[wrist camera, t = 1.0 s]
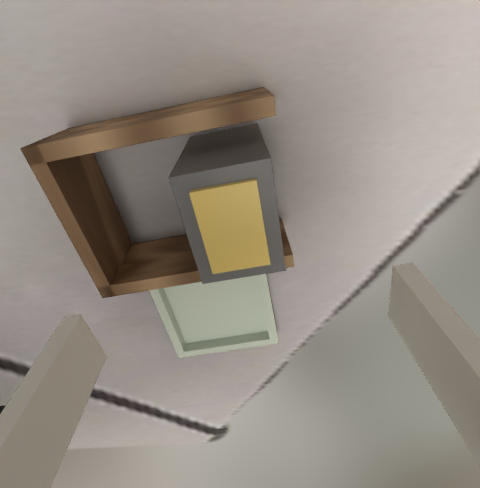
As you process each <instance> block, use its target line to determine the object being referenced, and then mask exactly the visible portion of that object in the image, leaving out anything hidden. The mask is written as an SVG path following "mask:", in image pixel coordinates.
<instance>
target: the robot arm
mask: <svg viewBox="0 0 480 488" xmlns="http://www.w3.org/2000/svg"><path fill="white" fill-rule="evenodd" d="M388 316H389V318H390V319H391V321H392V323H393V324H394V326H395V328H396V329H397V331H398V333H399V334H400V336H401V338H402V339H403V341H404V343H405V344H406V346H407V348H408V349H409V351H410V353H411V354H412V356H413V358H414V359H415V361H416V362H417V364H418V366H419V367H420V369H421V371H422V372H423V374H424V376H425V377H426V379H427V381H428V382H429V384H430V386H431V387H432V389H433V391H434V392H435V394H436V395H437V397H438V399H439V400H440V402H441V403H442V405H443V407H444V409H445V410H446V412H447V414H448V415H449V417H450V419H451V420H452V422H453V424H454V425H455V427H456V429H457V430H458V432H459V433H460V435H461V437H462V438H463V440H464V442H465V443H466V445H467V447H468V449H469V450H470V452H471V453H472V455H473V457H474V458H475V460H476V462H477V463H478V465H479V467H480V338H479V337H478V336H477V335H476V334H475V333H474V331H473V330H472V329H471V328H470V327H469V326H468V325H467V324H466V322H465V321H464V320H463V319H462V318H461V317H460V316H459V314H458V313H457V312H456V311H455V310H454V309H453V308H452V307H451V305H450V304H449V303H448V302H447V301H446V300H445V299H444V297H443V296H442V295H441V294H440V293H439V292H438V291H437V290H436V288H435V287H434V286H433V285H432V284H431V283H430V282H429V281H428V279H427V278H426V277H425V276H424V275H423V274H422V273H421V271H420V270H419V269H418V268H417V267H416V266H415V265H414V264H413V263H407V264H400V265H394V266H393V269H392V280H391V291H390V303H389V314H388ZM106 357H107V356H106V354H105V353H104V351H103V349H102V348H101V346H100V344H99V343H98V341H97V340H96V338H95V336H94V335H93V333H92V332H91V330H90V328H89V327H88V325H87V323H86V322H85V320H84V319H83V317H82V315H81V314H80V315H73V316H67V317H64V318H63V319H62V321H61V323H60V324H59V326H58V327H57V329H56V330H55V332H54V333H53V335H52V336H51V338H50V339H49V341H48V342H47V344H46V345H45V347H44V348H43V350H42V351H41V353H40V354H39V356H38V358H37V359H36V361H35V362H34V364H33V365H32V367H31V368H30V370H29V371H28V373H27V374H26V376H25V377H24V379H23V380H22V382H21V383H20V385H19V386H18V388H17V389H16V391H15V392H14V394H13V396H12V397H11V399H10V400H9V402H8V403H7V405H5V406H0V488H51V485H52V483H53V481H54V479H55V476H56V474H57V472H58V469H59V467H60V464H61V462H62V460H63V457H64V455H65V453H66V451H67V448H68V446H69V444H70V441H71V439H72V437H73V434H74V432H75V429H76V427H77V425H78V422H79V420H80V418H81V415H82V413H83V411H84V408H85V406H86V404H87V401H88V399H89V397H90V394H91V392H92V390H93V387H94V385H95V383H96V380H97V378H98V376H99V373H100V371H101V369H102V366H103V364H104V362H105V359H106Z"/></svg>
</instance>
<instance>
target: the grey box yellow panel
mask: <svg viewBox="0 0 480 488" xmlns="http://www.w3.org/2000/svg"><path fill="white" fill-rule="evenodd" d="M169 181H170V184H171V187H172V190H173V193H174V196H175V199H176V203H177V206H178V209H179V212H180V215H181V218H182V221H183V224H184V228H185V231H186V234H187V237H188V240H189V243H190V246H191V250H192V253H193V256H194V259H195V262H196V265H197V268H198V271H199V275H200V278H201V281H202V284H207V283H213V282H219V281H225V280H231V279H237V278H243V277H249V276H255V275H261V274H267V273H273V272H280V271H286V267H285V259H284V252H283V245H282V237H281V230H280V223H279V215H278V208H277V200H276V193H275V186H274V178H273V171H272V164H271V157H270V155H269V152H268V150H267V147H266V145H265V142H264V140H263V137H262V135H261V132H260V130H259V127H258V125H257V124H252V125H247V126H242V127H238V128H233V129H228V130H223V131H218V132H213V133H208V134H203V135H198V136H193V137H190V139H189V141H188V143H187V144H186V146H185V148H184V150H183V152H182V154H181V156H180V157H179V159H178V161H177V163H176V165H175V167H174V169H173V171H172V172H171V174H170V176H169Z"/></svg>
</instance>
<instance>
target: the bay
mask: <svg viewBox="0 0 480 488" xmlns="http://www.w3.org/2000/svg"><path fill="white" fill-rule="evenodd" d="M272 116H276V110H275V101H274V95H273V94H271V93H270V92H269V91H268V90H267V89H265V88H264V87H262V88H258V89H253V90H248V91H244V92H239V93H234V94H229V95H225V96H220V97H215V98H210V99H206V100H201V101H196V102H191V103H187V104H182V105H177V106H173V107H168V108H163V109H158V110H154V111H149V112H144V113H139V114H135V115H130V116H125V117H121V118H116V119H111V120H106V121H102V122H97V123H92V124H87V125H83V126H78V127H73V128H68V129H66V130H63V131H61V132H59V133H56V134H54V135H51V136H49V137H47V138H44V139H42V140H39V141H37V142H35V143H32V144H30V145H27V146H25V147H23V148H20V149H21V151H22V152H23V154H24V156H25V158H26V160H27V162H28V163H29V165H30V167H31V169H32V171H33V172H34V174H35V176H36V178H37V180H38V181H39V183H40V185H41V187H42V189H43V191H44V192H45V194H46V196H47V198H48V200H49V201H50V203H51V205H52V207H53V209H54V211H55V212H56V214H57V216H58V218H59V220H60V221H61V223H62V225H63V227H64V229H65V231H66V232H67V234H68V236H69V238H70V240H71V241H72V243H73V245H74V247H75V249H76V250H77V252H78V254H79V256H80V258H81V260H82V261H83V263H84V265H85V267H86V269H87V270H88V272H89V274H90V276H91V278H92V280H93V281H94V283H95V285H96V287H97V289H98V290H99V292H100V294H101V296H102V298H106V297H112V296H118V295H124V294H130V293H136V292H142V291H148V290H155V289H161V288H167V287H173V286H179V285H185V284H191V283H197V282H202V281H201V278H200V275H199V271H198V268H197V265H196V262H195V259H194V256H193V253H192V250H191V246H190V243H189V240H188V237H187V235H182V236H176V237H170V238H165V239H159V240H154V241H148V242H142V243H137V244H132V242H131V240H130V237H129V235H128V233H127V231H126V228H125V226H124V224H123V221H122V219H121V217H120V214H119V212H118V210H117V207H116V205H115V203H114V201H113V198H112V196H111V194H110V191H109V189H108V187H107V184H106V182H105V180H104V177H103V175H102V173H101V171H100V168H99V166H98V164H97V161H96V159H95V157H94V154H93V153H95V152H100V151H105V150H110V149H115V148H120V147H125V146H129V145H134V144H139V143H144V142H149V141H154V140H159V139H164V138H169V137H174V136H179V135H183V134H188V133H193V132H198V131H203V130H208V129H213V128H218V127H223V126H228V125H233V124H238V123H242V122H247V121H252V120H257V119H262V118H267V117H272ZM279 223H280V230H281V237H282V245H283V252H284V259H285V267H286V268H288V267H294V262H293V254H292V251H291V248H290V245H289V242H288V238H287V235H286V232H285V229H284V226H283V222H282V219H281V218H279Z"/></svg>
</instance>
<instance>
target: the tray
mask: <svg viewBox="0 0 480 488" xmlns="http://www.w3.org/2000/svg"><path fill="white" fill-rule="evenodd" d="M149 292H150V294H151V296H152V299H153V301H154V303H155V305H156V308H157V310H158V312H159V314H160V317H161V319H162V321H163V324H164V326H165V328H166V330H167V333H168V335H169V337H170V339H171V342H172V344H173V346H174V349H175V351H176V353H177V355H178V358H183V357H190V356H196V355H203V354H210V353H217V352H224V351H231V350H237V349H244V348H251V347H258V346H265V345H272V344H278V337H277V331H276V325H275V320H274V314H273V309H272V303H271V297H270V292H269V286H268V280H267V275H266V274H261V275H255V276H249V277H243V278H237V279H231V280H225V281H219V282H213V283H207V284H202V282H197V283H191V284H185V285H179V286H173V287H167V288H161V289H155V290H149Z"/></svg>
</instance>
